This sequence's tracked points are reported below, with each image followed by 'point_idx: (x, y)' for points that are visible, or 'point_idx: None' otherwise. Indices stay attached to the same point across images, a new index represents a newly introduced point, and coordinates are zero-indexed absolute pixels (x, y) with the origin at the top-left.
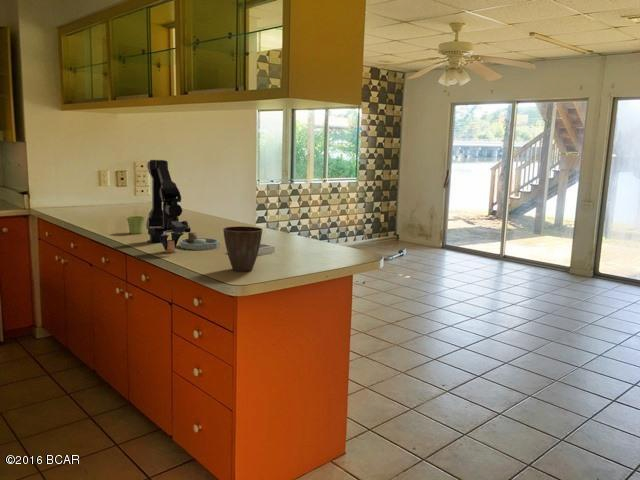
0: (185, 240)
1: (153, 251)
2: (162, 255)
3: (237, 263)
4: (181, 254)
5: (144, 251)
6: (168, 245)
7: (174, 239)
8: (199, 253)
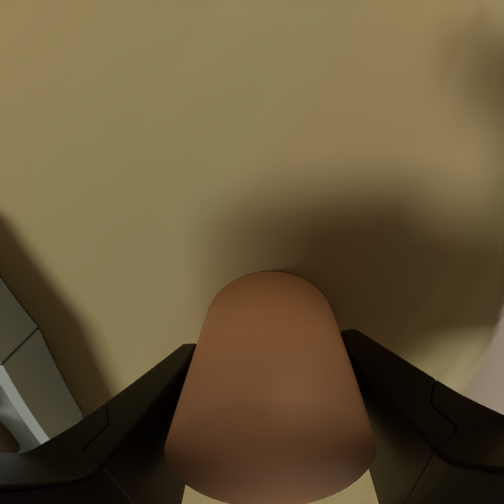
0: None
1: None
2: (485, 155)
3: None
4: (237, 43)
5: None
6: (342, 357)
7: (149, 473)
8: (24, 30)
